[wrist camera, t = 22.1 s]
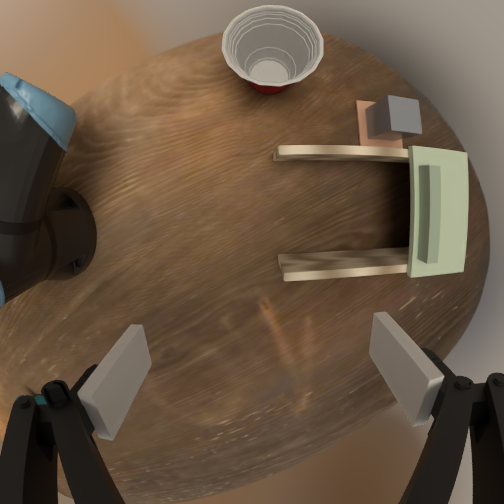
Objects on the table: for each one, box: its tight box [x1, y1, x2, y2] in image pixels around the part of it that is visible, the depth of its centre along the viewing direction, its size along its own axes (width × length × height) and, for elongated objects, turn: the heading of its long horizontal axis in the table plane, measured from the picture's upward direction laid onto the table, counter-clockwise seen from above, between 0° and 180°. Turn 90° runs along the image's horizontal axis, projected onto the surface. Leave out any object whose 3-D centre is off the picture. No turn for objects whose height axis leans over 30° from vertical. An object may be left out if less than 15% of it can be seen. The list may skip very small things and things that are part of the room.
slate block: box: [365, 95, 422, 141], centre depth 33 cm, size 4×4×8 cm
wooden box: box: [273, 145, 410, 281], centre depth 36 cm, size 24×15×9 cm, turn 93°
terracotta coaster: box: [355, 100, 403, 149], centre depth 37 cm, size 7×7×1 cm
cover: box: [407, 146, 468, 277], centre depth 29 cm, size 9×16×3 cm, turn 3°
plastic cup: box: [222, 5, 323, 94], centre depth 30 cm, size 11×11×12 cm
